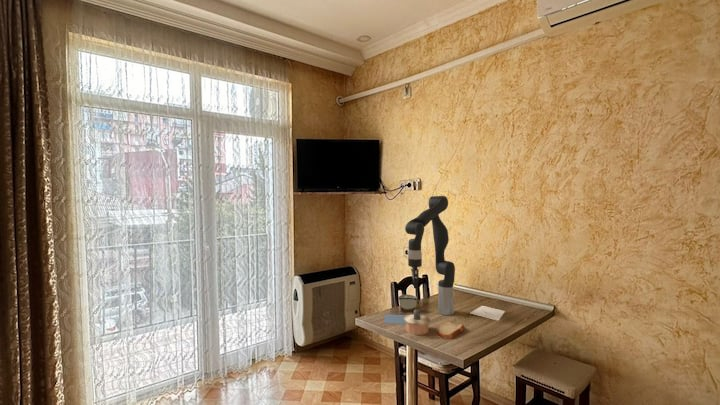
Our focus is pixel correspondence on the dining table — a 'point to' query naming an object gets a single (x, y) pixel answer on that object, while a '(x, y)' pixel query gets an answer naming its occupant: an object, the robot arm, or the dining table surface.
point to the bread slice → (450, 330)
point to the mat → (394, 319)
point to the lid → (417, 318)
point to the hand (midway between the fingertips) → (415, 286)
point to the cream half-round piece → (407, 303)
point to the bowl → (417, 329)
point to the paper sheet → (488, 312)
